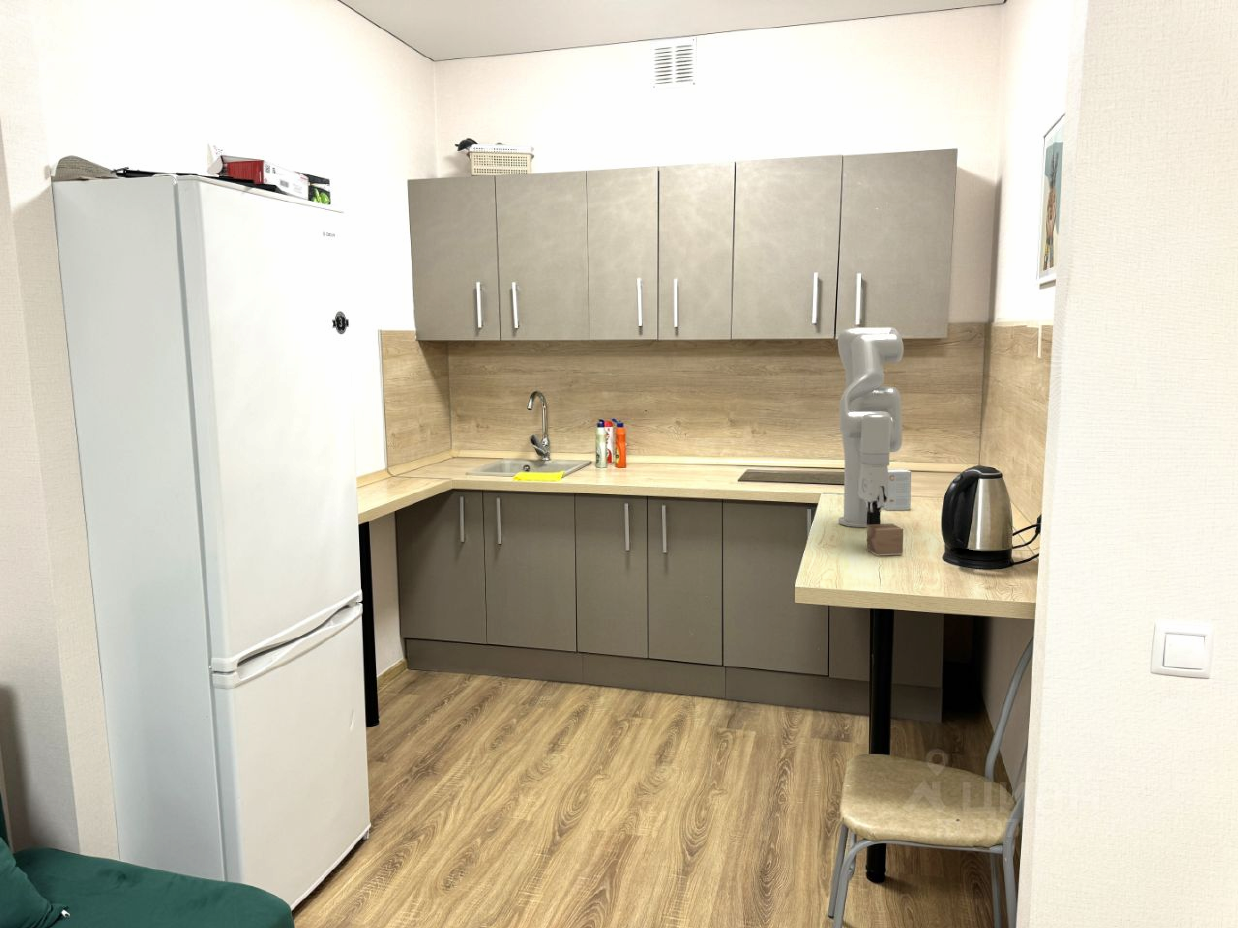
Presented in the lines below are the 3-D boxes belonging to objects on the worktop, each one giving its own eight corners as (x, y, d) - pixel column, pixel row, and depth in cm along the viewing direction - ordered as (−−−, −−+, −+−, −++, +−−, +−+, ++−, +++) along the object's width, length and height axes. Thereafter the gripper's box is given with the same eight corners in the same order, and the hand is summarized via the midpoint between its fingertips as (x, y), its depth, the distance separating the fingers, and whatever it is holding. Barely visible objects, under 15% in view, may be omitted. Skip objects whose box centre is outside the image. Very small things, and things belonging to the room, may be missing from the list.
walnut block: (866, 550, 237) (867, 524, 236) (891, 549, 238) (892, 523, 237) (877, 556, 230) (877, 530, 229) (902, 555, 231) (903, 528, 230)
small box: (904, 506, 297) (905, 468, 295) (910, 510, 291) (911, 471, 289) (880, 507, 297) (881, 469, 295) (886, 510, 291) (887, 471, 289)
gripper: (851, 456, 245) (850, 521, 247) (872, 463, 230) (871, 532, 232) (877, 455, 246) (875, 520, 248) (900, 462, 231) (898, 531, 233)
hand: (873, 525), depth 240 cm, fingers closed
